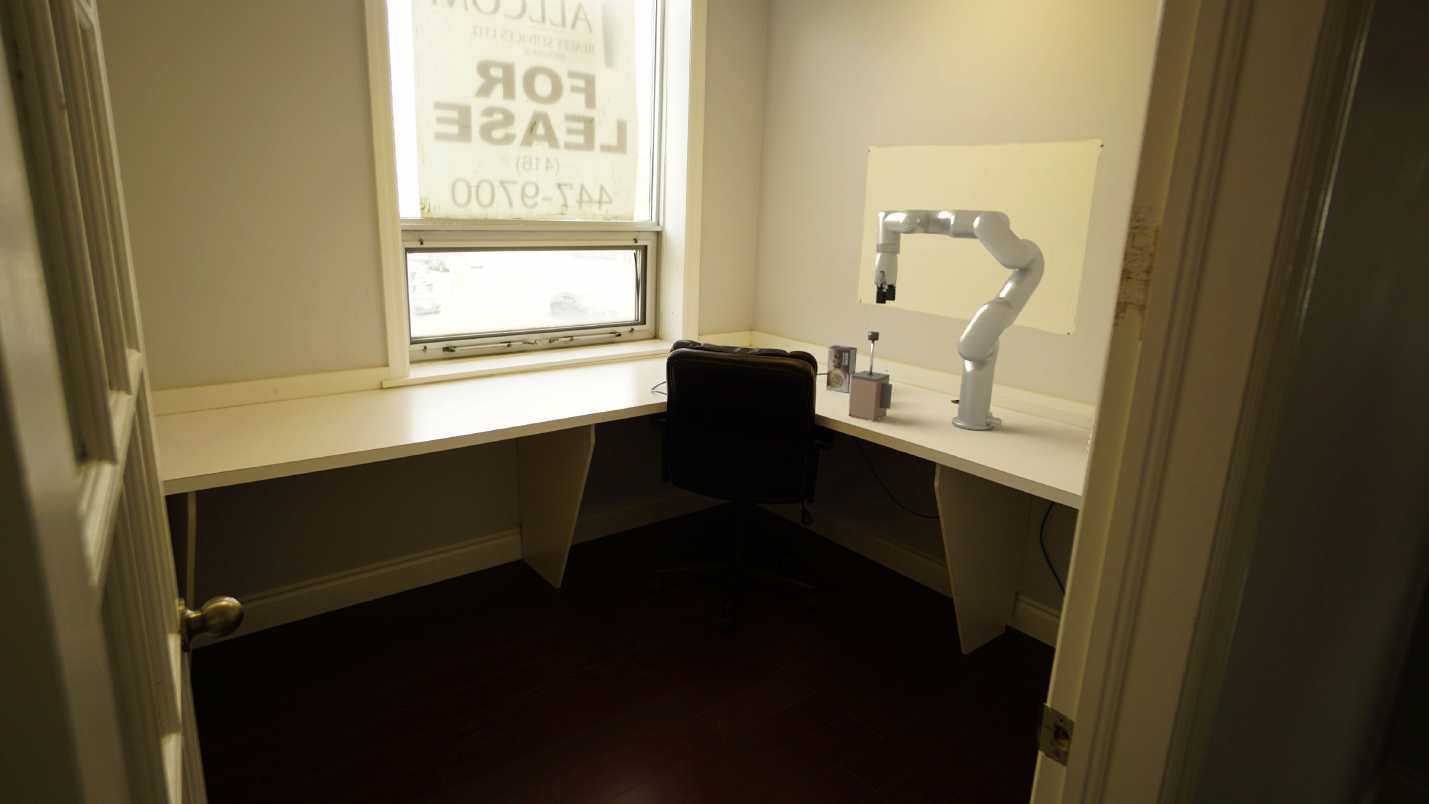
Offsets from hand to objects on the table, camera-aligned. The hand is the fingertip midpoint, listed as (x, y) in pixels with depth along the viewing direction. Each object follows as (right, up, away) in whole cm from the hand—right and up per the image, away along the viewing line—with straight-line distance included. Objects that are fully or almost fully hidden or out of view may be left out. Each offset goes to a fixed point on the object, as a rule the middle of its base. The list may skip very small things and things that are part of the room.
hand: (885, 302), depth 256 cm
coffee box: (-10, -29, +34) cm, 45 cm away
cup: (-5, -34, +16) cm, 38 cm away
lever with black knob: (-6, -27, -4) cm, 28 cm away
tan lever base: (-5, -38, -2) cm, 38 cm away
